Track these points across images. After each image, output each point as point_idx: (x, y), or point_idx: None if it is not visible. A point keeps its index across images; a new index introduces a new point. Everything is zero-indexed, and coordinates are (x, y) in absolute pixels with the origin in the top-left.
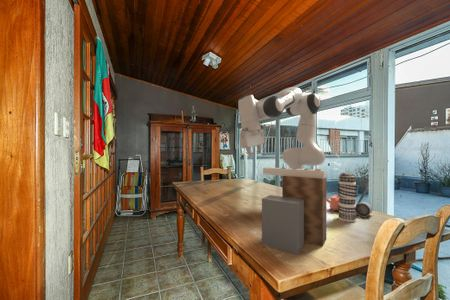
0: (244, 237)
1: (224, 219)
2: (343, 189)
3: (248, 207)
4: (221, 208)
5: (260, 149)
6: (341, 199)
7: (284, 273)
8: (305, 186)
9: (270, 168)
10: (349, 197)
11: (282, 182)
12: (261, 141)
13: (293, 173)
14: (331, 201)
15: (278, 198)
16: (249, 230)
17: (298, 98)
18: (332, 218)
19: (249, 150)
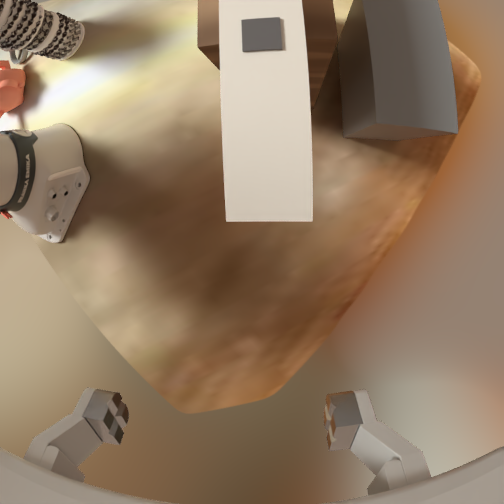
0: (386, 201)
1: (291, 327)
2: (18, 19)
3: (134, 322)
4: (204, 383)
5: (76, 424)
6: (38, 33)
7: (466, 67)
8: None
9: (310, 141)
10: (38, 11)
11: (332, 53)
12: (8, 490)
13: None
14: (6, 99)
15: (414, 70)
16: (332, 213)
17: None
18: (77, 66)
19: (409, 449)
